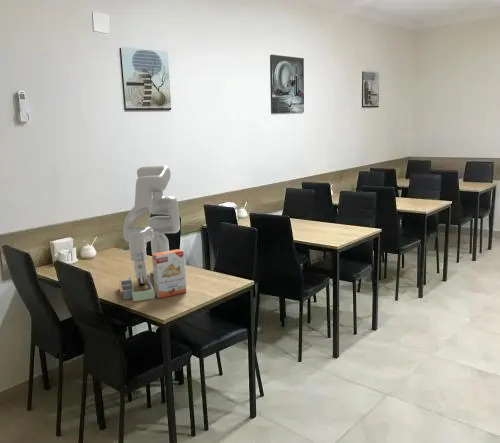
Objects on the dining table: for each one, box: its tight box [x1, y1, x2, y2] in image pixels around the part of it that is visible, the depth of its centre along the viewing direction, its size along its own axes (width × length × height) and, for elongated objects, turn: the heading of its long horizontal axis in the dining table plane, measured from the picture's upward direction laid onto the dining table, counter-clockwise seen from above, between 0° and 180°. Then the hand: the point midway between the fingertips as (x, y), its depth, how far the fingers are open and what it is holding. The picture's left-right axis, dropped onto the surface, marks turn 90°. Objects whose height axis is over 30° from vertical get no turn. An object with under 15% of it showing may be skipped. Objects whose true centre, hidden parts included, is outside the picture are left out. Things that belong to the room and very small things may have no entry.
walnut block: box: [136, 284, 150, 292], centre depth 229 cm, size 5×5×5 cm
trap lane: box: [118, 274, 156, 302], centre depth 238 cm, size 15×27×4 cm, turn 17°
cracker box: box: [151, 248, 187, 299], centre depth 230 cm, size 14×6×21 cm, turn 122°
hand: (142, 292), depth 234 cm, fingers closed
